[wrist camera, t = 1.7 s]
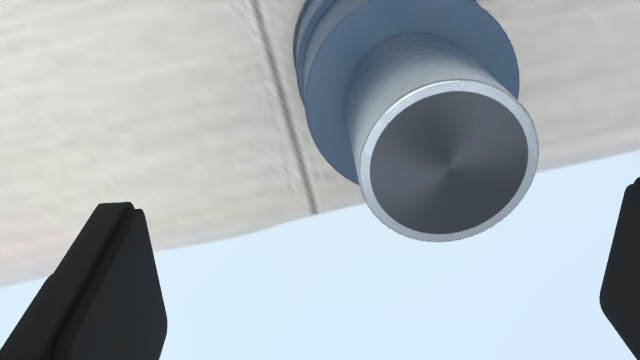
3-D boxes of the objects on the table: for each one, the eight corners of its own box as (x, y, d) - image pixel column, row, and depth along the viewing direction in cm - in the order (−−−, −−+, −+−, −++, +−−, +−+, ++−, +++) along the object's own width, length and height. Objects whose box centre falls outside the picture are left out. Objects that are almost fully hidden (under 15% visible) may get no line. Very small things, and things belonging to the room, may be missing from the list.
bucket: (472, -62, 32) (539, -45, 23) (472, 119, 37) (527, 190, 28) (279, -35, 32) (272, -7, 23) (306, 141, 37) (309, 218, 28)
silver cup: (481, 22, 24) (545, 66, 18) (480, 154, 27) (535, 231, 21) (336, 42, 24) (349, 93, 18) (351, 171, 27) (366, 253, 21)
